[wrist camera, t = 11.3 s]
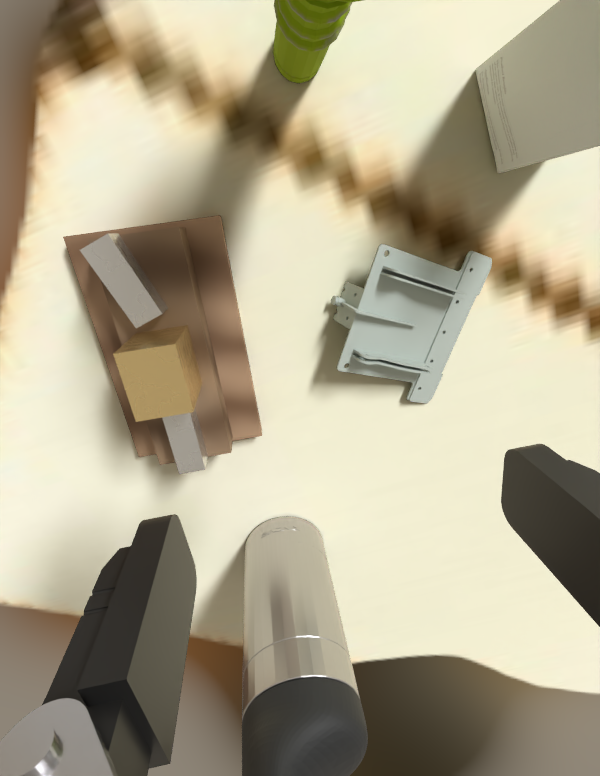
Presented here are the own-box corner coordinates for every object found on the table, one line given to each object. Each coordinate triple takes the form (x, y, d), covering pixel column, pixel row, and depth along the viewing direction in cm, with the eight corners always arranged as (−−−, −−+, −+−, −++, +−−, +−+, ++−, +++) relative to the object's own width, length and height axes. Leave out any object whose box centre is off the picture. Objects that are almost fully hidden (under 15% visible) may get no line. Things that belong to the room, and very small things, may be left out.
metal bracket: (330, 398, 33) (395, 214, 28) (303, 372, 38) (355, 211, 33) (447, 412, 40) (516, 265, 35) (412, 388, 44) (468, 256, 40)
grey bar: (207, 455, 35) (205, 469, 33) (161, 463, 35) (155, 478, 32) (148, 229, 27) (140, 229, 25) (88, 237, 27) (75, 237, 25)
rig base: (261, 428, 39) (262, 451, 35) (142, 449, 39) (130, 475, 35) (220, 216, 32) (216, 213, 28) (71, 236, 31) (43, 237, 27)
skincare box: (557, 145, 33) (778, 83, 19) (491, 177, 33) (661, 139, 19) (541, 27, 30) (793, -149, 16) (468, 64, 30) (652, -77, 16)
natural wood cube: (136, 333, 30) (113, 353, 25) (187, 325, 30) (175, 343, 25) (153, 391, 32) (135, 421, 27) (202, 383, 32) (193, 412, 27)
